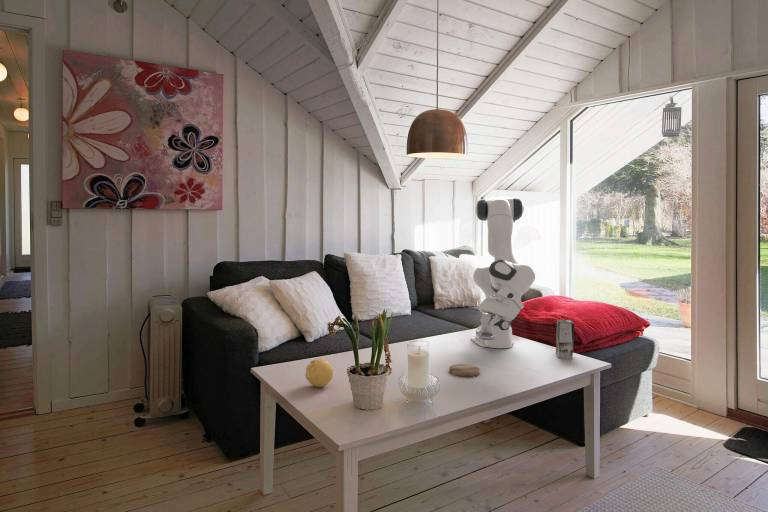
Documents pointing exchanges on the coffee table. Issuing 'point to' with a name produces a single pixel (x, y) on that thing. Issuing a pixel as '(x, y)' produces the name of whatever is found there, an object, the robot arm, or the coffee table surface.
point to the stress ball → (319, 372)
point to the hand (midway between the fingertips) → (485, 323)
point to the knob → (486, 327)
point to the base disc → (464, 370)
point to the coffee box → (565, 338)
